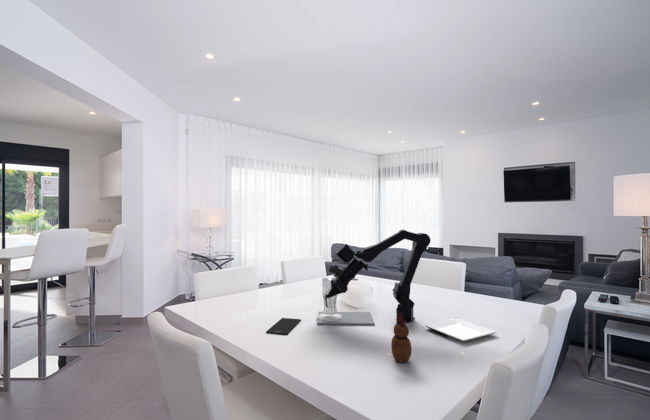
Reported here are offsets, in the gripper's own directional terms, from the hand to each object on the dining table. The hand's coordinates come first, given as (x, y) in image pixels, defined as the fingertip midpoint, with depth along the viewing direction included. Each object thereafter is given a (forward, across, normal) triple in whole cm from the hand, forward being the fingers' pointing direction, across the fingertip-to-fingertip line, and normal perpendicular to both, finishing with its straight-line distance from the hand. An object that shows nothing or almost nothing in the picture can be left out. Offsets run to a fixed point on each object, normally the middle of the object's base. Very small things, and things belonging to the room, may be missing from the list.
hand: (327, 295), depth 142 cm
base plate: (+2, 0, +13) cm, 13 cm away
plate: (-29, +15, +45) cm, 55 cm away
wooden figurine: (-9, +40, +24) cm, 48 cm away
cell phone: (+20, +10, -5) cm, 23 cm away
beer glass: (+5, 0, +6) cm, 8 cm away
